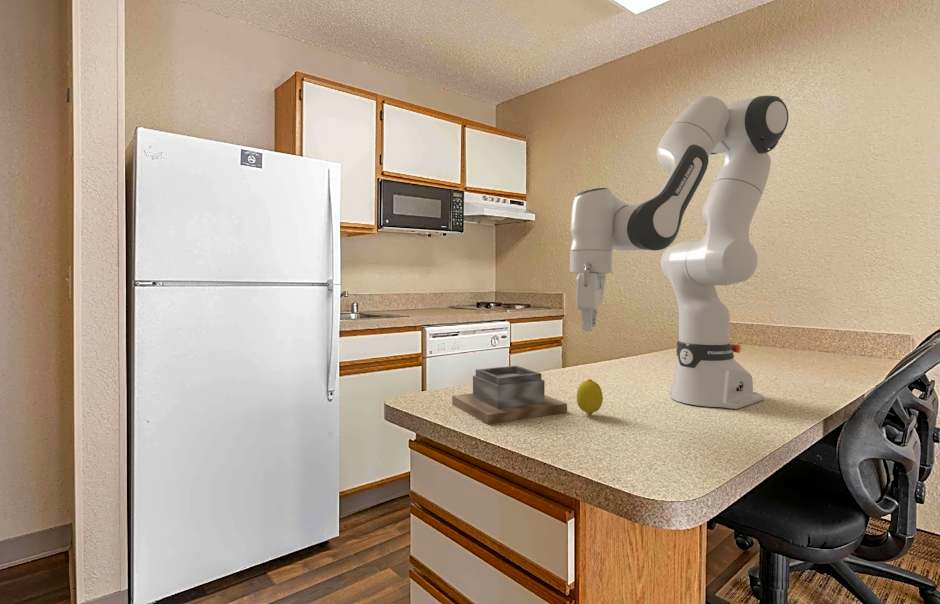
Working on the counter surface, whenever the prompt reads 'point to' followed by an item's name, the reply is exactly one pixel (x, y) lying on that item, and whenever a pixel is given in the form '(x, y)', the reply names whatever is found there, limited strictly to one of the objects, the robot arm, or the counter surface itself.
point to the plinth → (507, 412)
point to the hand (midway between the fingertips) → (589, 328)
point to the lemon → (589, 396)
